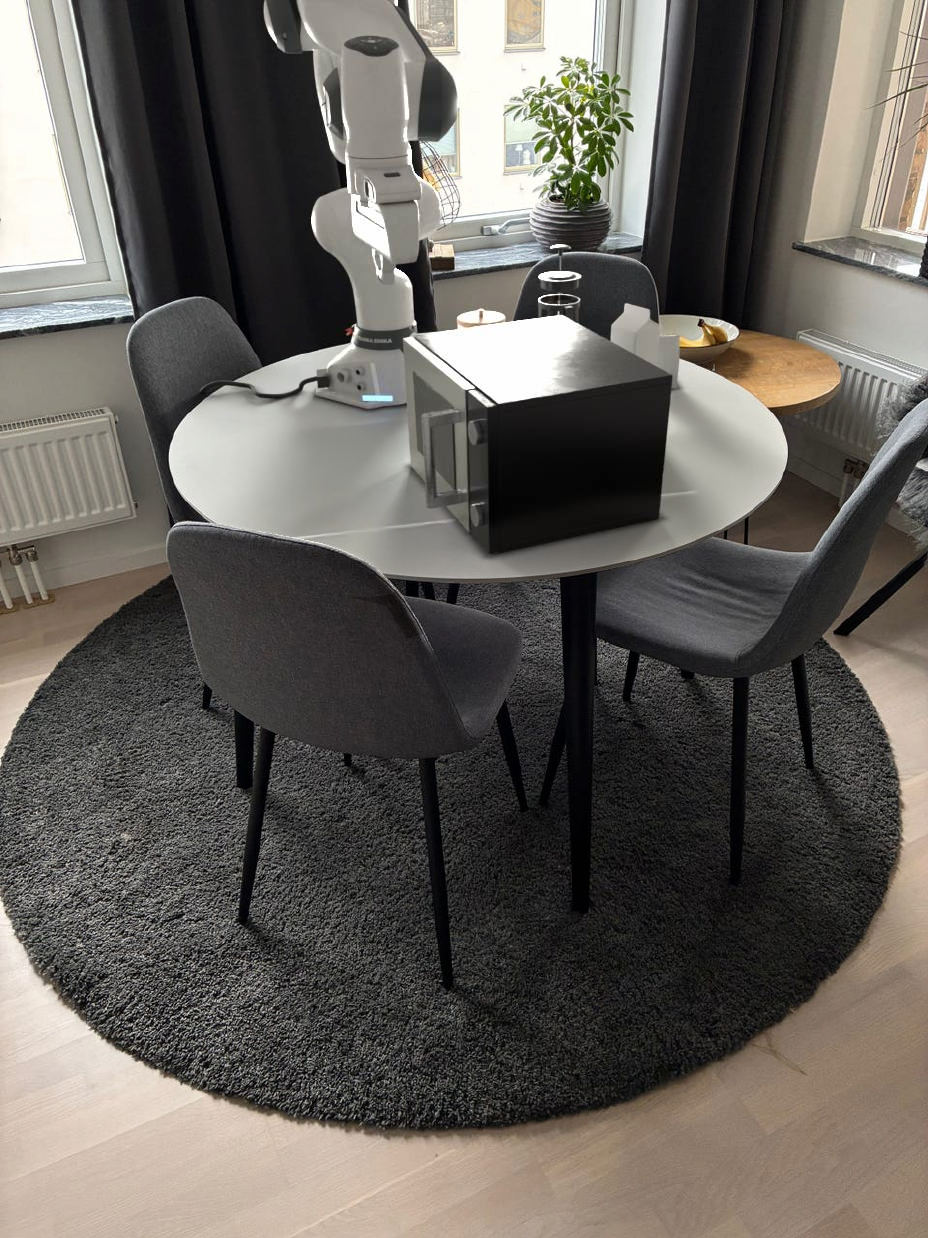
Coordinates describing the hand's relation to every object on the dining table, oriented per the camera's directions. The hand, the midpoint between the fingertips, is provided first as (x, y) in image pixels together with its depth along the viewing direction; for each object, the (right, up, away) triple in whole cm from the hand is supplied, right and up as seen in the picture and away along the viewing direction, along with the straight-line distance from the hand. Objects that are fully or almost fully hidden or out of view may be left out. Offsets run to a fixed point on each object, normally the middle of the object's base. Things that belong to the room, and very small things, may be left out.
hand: (386, 282), depth 135 cm
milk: (+41, -14, +35) cm, 56 cm away
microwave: (+21, -28, +15) cm, 38 cm away
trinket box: (+15, +12, +77) cm, 79 cm away
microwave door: (+5, -30, +13) cm, 33 cm away
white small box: (+51, -1, +55) cm, 75 cm away
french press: (+32, +10, +73) cm, 80 cm away
